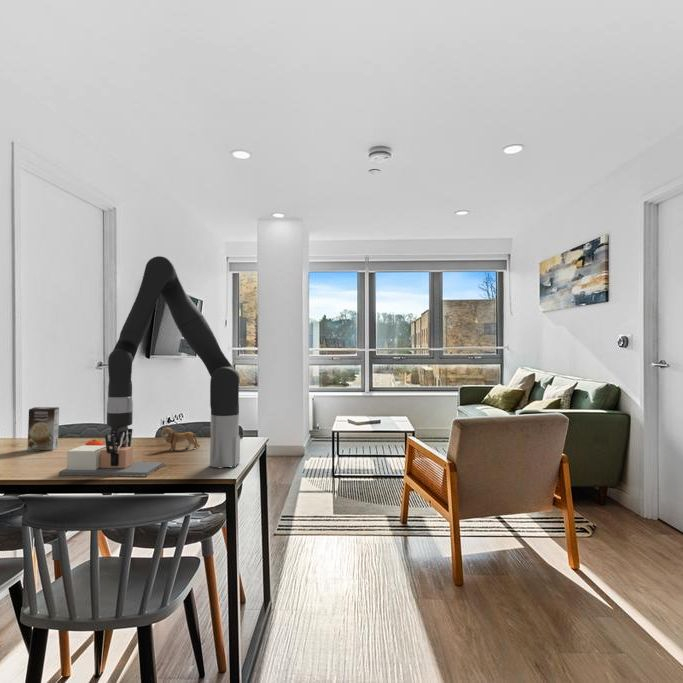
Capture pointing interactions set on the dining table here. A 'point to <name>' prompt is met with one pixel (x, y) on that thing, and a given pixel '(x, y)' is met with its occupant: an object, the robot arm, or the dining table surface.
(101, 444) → the clementine
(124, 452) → the stub
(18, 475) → the dining table surface
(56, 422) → the coffee box
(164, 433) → the lion figurine
